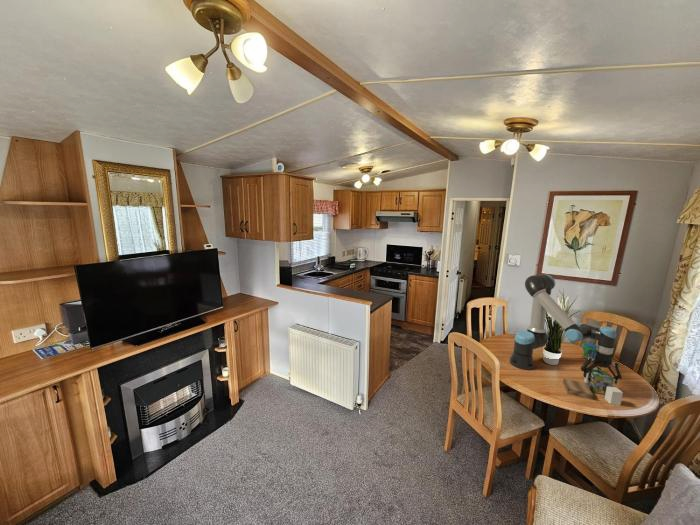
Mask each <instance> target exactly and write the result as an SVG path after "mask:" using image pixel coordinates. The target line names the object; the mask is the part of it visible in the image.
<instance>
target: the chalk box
mask: <svg viewBox="0 0 700 525" xmlns="http://www.w3.org/2000/svg"><path fill="white" fill-rule="evenodd" d="M588 373H589V375H588V380H587V384H588V386H589V388H590V389H591V391H592V393H593V394H601V395H605V394H606V388H607V386H608V387H612V382H613V377H614V376H613V375H611V374H609V373H608V372H607V371H606V370H602V367H601V368H600V367H599V366H597V367H596V368H593V369H592V370H590V371H589V372H588Z"/></svg>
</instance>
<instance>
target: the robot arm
mask: <svg viewBox="0 0 700 525" xmlns="http://www.w3.org/2000/svg"><path fill="white" fill-rule="evenodd" d="M524 286H525V290H526V291H527V293H528V294H529V295H530V297H532V306H531V307H532V308H531V314H530V324H529V326H527V330H519V331H517V332H516V333H515V336H514V346H513V352H512V354H511V355H510V357H509V363H511V364H510V365H511V366H513V367H515V368H517V369H521V370H528V371H529V370H530V371H531V370H533V369H534V367H535V363H534V359H533V353H534V350H536V349H539V348H543V347H545V346H546V345H548V343H549V340H548V338H549V335H548V333H547V330H546V329H545V326H546V325H545V324H546V316H547V313H548V314H549V316H551V317H552V318H553V320H554V321H555V322H556V323H557V324H558V325H559V326H560V328H562V330H563V331H564V332H565V334H564V335H565V337H566V339H567V340H568V341H569V342H573V343H575V342H581V341H583V340H586V339H592V340H595V341H597V343H596V345H597V349H596V350H597V351H596V355H595V358H591V357H588V359H586V361H585V362H584V363H583V365H581V367H580V371H582V372H583V374H582V375H583V378H584V379H583V381H584V383H587V380H588V375H589V373H588V372H589V371H590V370H592V369H596V368H597V366H598V367H599V368H600V367H601V368H607V369H608V370H609V372H610V373H611V374H612V375H611V376H612V377H613V382H612V387H615V385H617V383H618V380H619V379H620V380H622V379H623V376H622V374H621V372H620V368H619V363H618V362H617V361H615V360H614V361H613V353H614V349H615V345H616V344H615V343H616V339H617V330H616V329H615V328H613V327H611V326H605V325H601V326H600V327H596V326H592V325H589V324H588V323H587V324H586V323H582V322H578V323H576V322H574V320H573V319H572V318H571V317H570V316H569V314H568V313H567V312H565V310H564V309H562V307H561V306H560V305H559V304H558V302H556V300H554V299H553V298H552V297H551V294H552V290H553V289H554V288H555V286H556V280H555V279H554V277H553V276H552V275H550V274H548V273H547V274H546V273H545V274H544V273H541V274H540V273H539V274H535V275H534V274H533V275H530V276H528V277H526V279H525V281H524ZM547 335H548V336H547ZM593 360H594V361H593ZM591 363H592V364H591ZM611 365H613V367H614V369H615V372H614V370H613V369H612V368H611Z"/></svg>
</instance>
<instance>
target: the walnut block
mask: <svg viewBox="0 0 700 525" xmlns="http://www.w3.org/2000/svg"><path fill="white" fill-rule="evenodd" d="M562 385H563V386H564V390H565V392H566V394H567V395H571V396H574V397H579V398H583V399H588V400H591V401H592V400H593V397H594V393H593V392H592V391H591V389H590V388H589V386H588V384H587V383H585V382H582V381H577V380H573V379H572V380H571V379H568V378H563V381H562Z"/></svg>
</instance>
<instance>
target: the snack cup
mask: <svg viewBox="0 0 700 525" xmlns="http://www.w3.org/2000/svg"><path fill="white" fill-rule="evenodd" d="M581 346H582V357H583V358H584V359H585V360H588V357H591V358H595V355H596V351H597V350H596V349H597V344H595V343H590V342H583V343H581ZM592 362H595V361H594V360H593V361H592Z"/></svg>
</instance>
